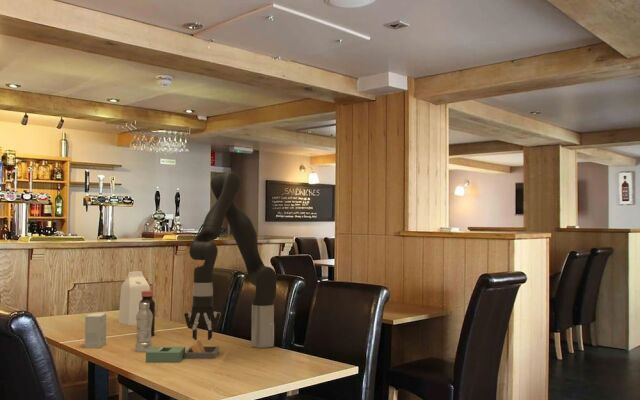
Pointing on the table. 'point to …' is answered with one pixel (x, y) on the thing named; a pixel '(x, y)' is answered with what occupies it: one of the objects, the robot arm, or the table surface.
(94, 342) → the small box
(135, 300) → the milk
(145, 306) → the plastic bottle
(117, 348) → the table surface
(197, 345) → the tan wooden plank
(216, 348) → the tray
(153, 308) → the vinegar
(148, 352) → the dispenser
